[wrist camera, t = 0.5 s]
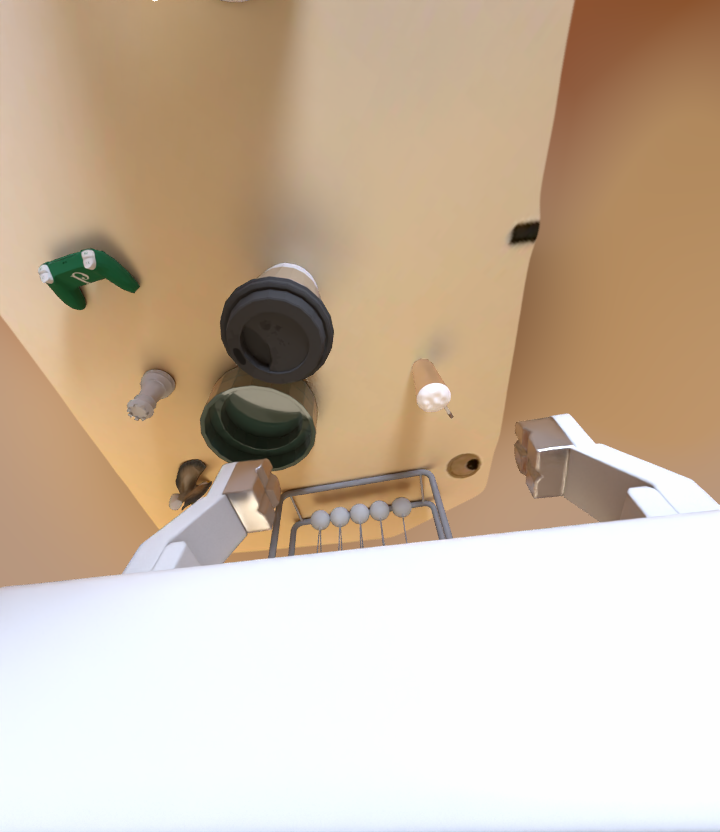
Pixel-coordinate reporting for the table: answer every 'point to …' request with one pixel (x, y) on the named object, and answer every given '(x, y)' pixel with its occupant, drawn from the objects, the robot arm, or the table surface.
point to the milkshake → (430, 387)
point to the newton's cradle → (361, 510)
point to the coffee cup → (277, 326)
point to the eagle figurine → (189, 485)
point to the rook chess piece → (150, 394)
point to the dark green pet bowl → (259, 420)
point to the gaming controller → (83, 275)
